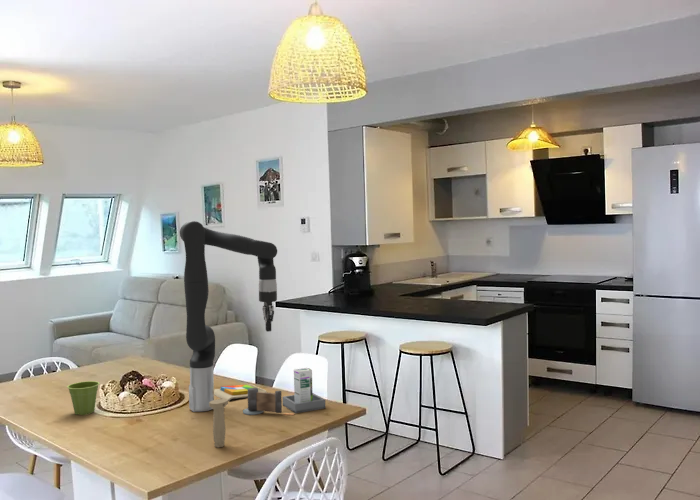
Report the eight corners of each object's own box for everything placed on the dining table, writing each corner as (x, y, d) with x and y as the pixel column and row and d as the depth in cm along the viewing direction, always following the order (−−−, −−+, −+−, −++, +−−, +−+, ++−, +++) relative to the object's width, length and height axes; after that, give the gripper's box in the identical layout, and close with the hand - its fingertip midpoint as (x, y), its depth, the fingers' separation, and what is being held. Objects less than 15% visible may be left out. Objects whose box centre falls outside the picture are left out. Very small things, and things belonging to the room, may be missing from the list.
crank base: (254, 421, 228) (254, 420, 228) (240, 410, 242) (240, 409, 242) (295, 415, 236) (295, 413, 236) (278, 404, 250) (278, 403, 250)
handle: (207, 447, 201) (206, 402, 201) (221, 442, 207) (220, 397, 206) (217, 450, 199) (216, 404, 198) (231, 444, 204) (230, 400, 203)
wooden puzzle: (267, 395, 267) (267, 387, 267) (227, 403, 256) (227, 394, 256) (249, 387, 281) (249, 380, 281) (210, 394, 270) (210, 386, 270)
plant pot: (89, 406, 251) (88, 379, 250) (106, 411, 244) (105, 383, 244) (61, 414, 241) (60, 385, 241) (78, 419, 234) (77, 390, 234)
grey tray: (295, 413, 238) (295, 404, 238) (282, 405, 250) (282, 396, 249) (325, 408, 244) (325, 399, 244) (311, 400, 256) (311, 392, 256)
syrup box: (299, 407, 243) (299, 371, 243) (294, 404, 248) (293, 368, 248) (313, 405, 246) (312, 369, 245) (306, 402, 251) (306, 366, 250)
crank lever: (246, 410, 240) (245, 390, 239) (251, 407, 243) (250, 387, 243) (278, 413, 235) (278, 393, 234) (283, 410, 238) (283, 390, 238)
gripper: (256, 289, 262) (256, 329, 262) (261, 291, 249) (262, 334, 250) (273, 288, 264) (274, 328, 265) (280, 291, 252) (280, 333, 252)
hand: (268, 331), depth 257 cm, fingers closed
